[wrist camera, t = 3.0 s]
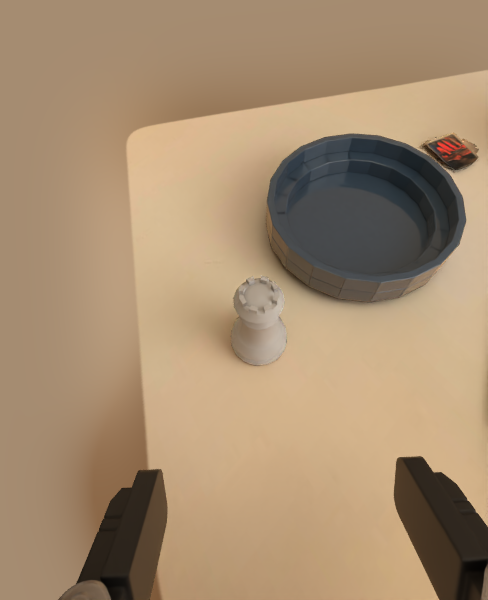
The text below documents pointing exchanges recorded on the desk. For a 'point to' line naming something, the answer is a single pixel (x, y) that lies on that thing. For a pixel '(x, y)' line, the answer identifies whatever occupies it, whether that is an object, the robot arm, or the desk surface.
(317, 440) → the desk surface
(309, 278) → the dish
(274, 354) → the rook chess piece
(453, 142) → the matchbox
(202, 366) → the desk surface
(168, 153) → the desk surface
